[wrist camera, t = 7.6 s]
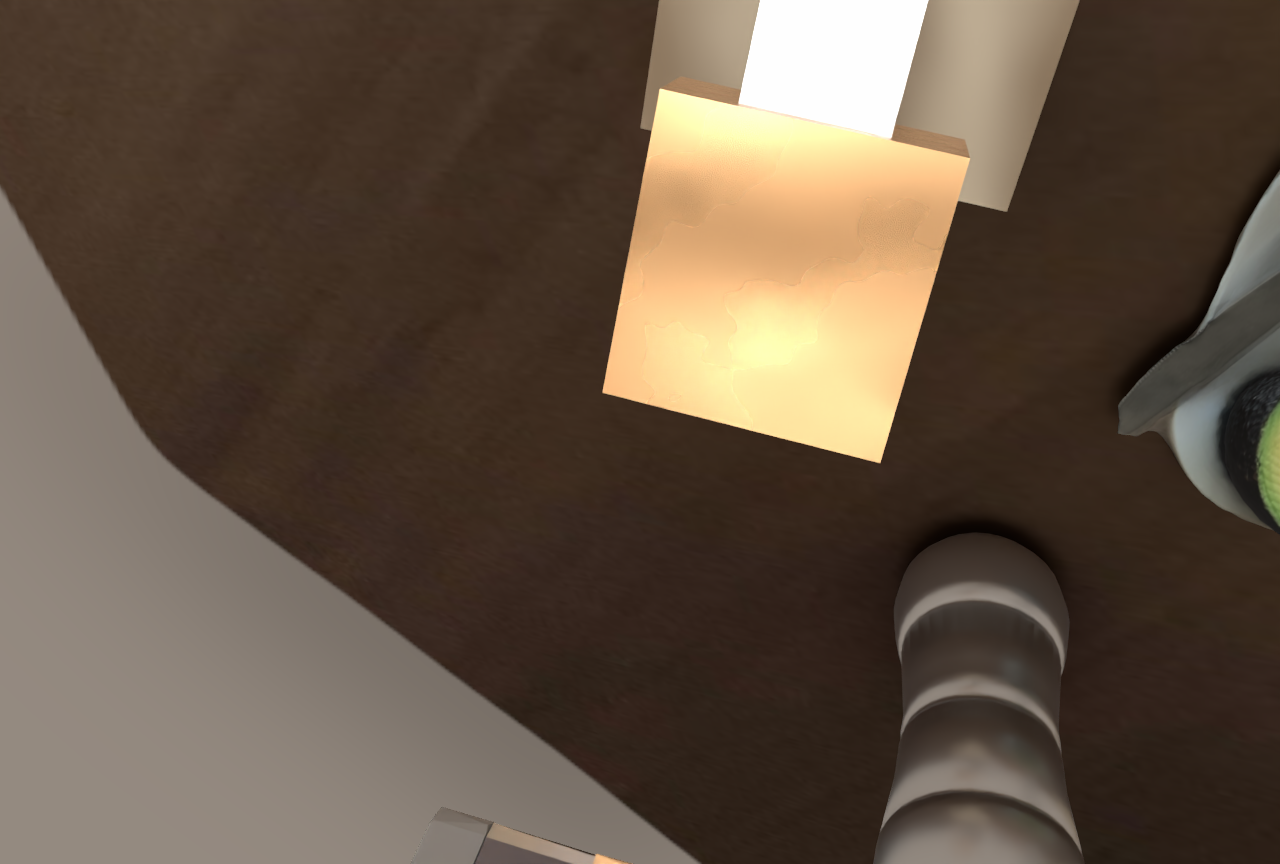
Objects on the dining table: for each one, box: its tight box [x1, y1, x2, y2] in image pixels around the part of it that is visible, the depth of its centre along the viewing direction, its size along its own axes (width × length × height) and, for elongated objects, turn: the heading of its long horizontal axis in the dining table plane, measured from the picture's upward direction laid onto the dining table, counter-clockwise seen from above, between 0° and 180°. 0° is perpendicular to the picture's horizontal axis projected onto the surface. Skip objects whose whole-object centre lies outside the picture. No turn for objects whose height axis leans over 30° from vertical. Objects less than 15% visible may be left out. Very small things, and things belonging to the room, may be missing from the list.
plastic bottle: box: [873, 532, 1085, 864], centre depth 41 cm, size 6×7×20 cm
